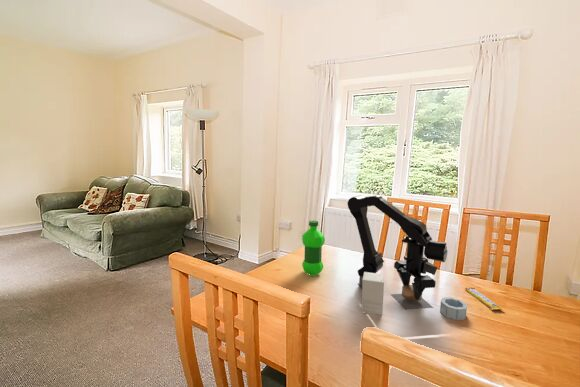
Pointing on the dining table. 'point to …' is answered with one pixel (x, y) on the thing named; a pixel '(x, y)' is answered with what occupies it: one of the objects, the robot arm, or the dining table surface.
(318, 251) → the plastic bottle
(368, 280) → the supplement box
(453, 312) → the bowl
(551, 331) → the dining table surface
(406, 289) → the tan rounded dome
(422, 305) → the mat
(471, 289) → the candy bar
